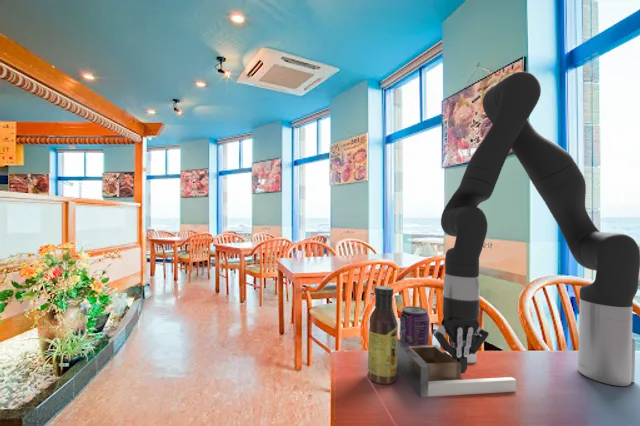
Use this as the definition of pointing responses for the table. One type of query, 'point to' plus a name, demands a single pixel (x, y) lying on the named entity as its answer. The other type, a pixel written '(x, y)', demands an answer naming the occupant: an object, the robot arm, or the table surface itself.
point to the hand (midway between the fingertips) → (459, 371)
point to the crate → (438, 363)
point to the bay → (418, 379)
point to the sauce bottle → (383, 338)
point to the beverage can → (414, 326)
